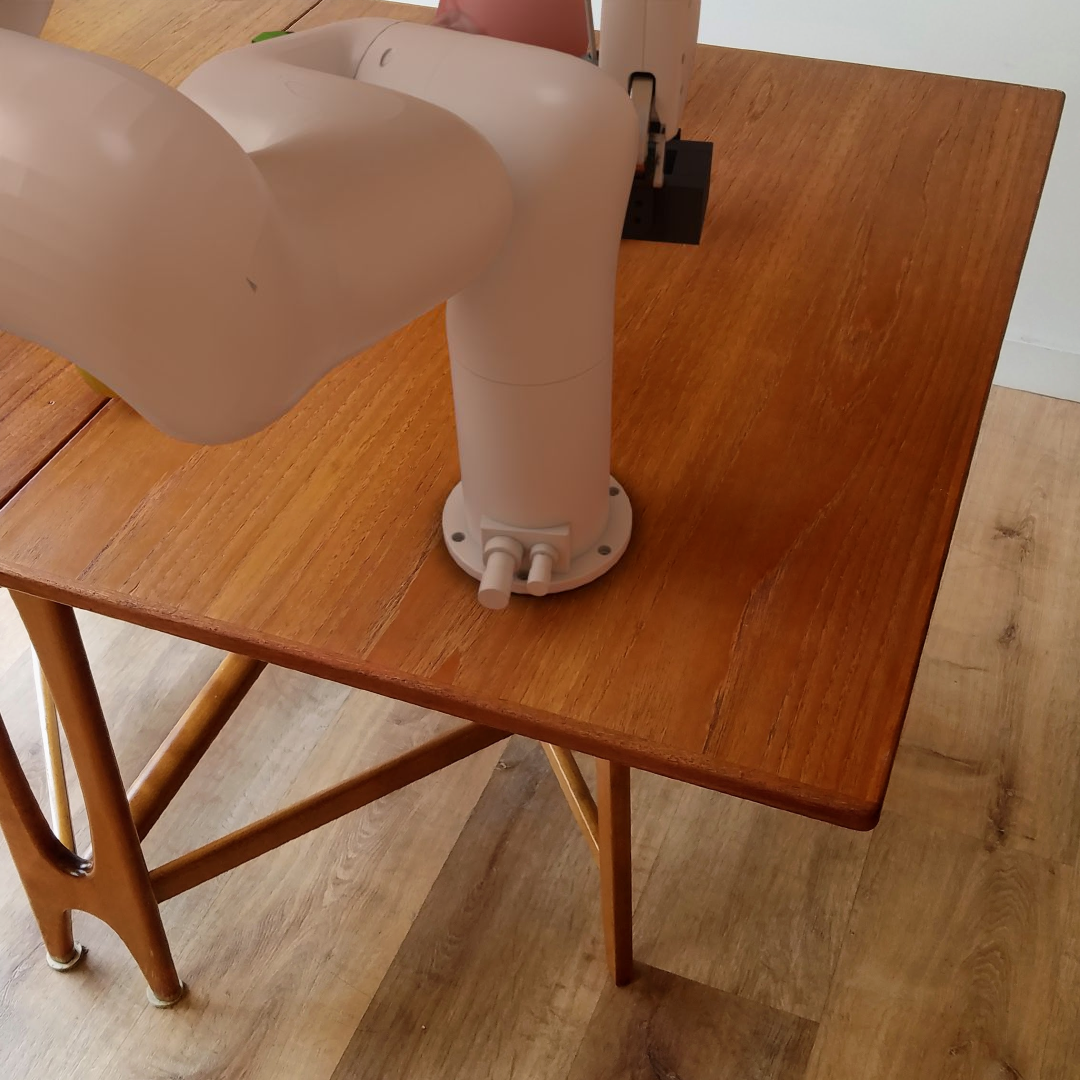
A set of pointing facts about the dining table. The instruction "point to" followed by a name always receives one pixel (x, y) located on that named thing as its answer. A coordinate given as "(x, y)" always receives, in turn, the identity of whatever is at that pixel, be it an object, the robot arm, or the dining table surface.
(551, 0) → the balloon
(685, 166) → the black hollow block
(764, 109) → the dining table surface
